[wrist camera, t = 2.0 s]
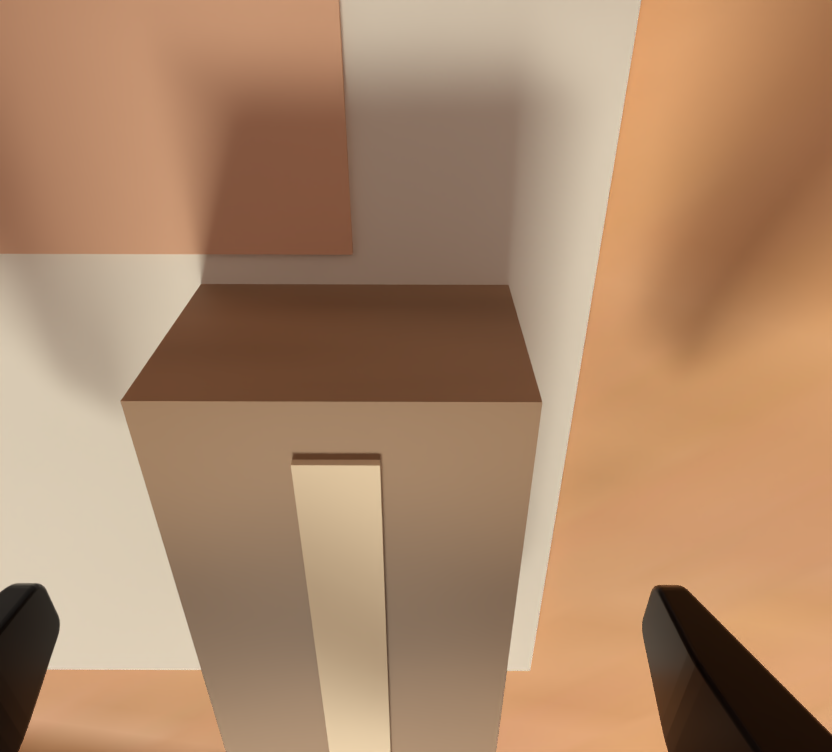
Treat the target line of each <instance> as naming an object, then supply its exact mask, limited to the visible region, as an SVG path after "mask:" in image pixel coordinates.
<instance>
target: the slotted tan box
mask: <svg viewBox="0 0 832 752" xmlns="http://www.w3.org/2000/svg"><path fill="white" fill-rule="evenodd" d="M120 402H121V405H122V408H123V412H124V415H125V418H126V422H127V425H128V428H129V432H130V435H131V438H132V442H133V445H134V448H135V451H136V455H137V458H138V461H139V465H140V468H141V471H142V475H143V478H144V481H145V485H146V488H147V491H148V495H149V498H150V501H151V505H152V508H153V511H154V515H155V518H156V521H157V524H158V528H159V531H160V534H161V538H162V541H163V544H164V548H165V551H166V554H167V558H168V561H169V564H170V568H171V571H172V574H173V578H174V581H175V584H176V588H177V591H178V594H179V598H180V601H181V604H182V607H183V611H184V614H185V617H186V621H187V624H188V627H189V631H190V634H191V637H192V641H193V644H194V647H195V651H196V654H197V657H198V661H199V664H200V667H201V671H202V674H203V677H204V680H205V684H206V687H207V690H208V694H209V697H210V700H211V704H212V707H213V710H214V714H215V717H216V720H217V724H218V727H219V730H220V734H221V737H222V740H223V744H224V747H225V750H226V752H496V749H497V741H498V734H499V726H500V719H501V711H502V704H503V696H504V688H505V681H506V673H507V666H508V658H509V651H510V643H511V636H512V628H513V621H514V613H515V606H516V598H517V590H518V583H519V575H520V568H521V560H522V553H523V545H524V538H525V530H526V523H527V515H528V508H529V500H530V492H531V485H532V477H533V470H534V462H535V455H536V447H537V440H538V432H539V425H540V417H541V410H542V399H541V395H540V392H539V389H538V385H537V382H536V378H535V375H534V371H533V368H532V364H531V361H530V357H529V354H528V351H527V347H526V344H525V340H524V337H523V333H522V330H521V326H520V323H519V319H518V316H517V312H516V309H515V306H514V302H513V299H512V295H511V292H510V288H509V285H384V284H201V285H200V286H199V288H198V289H197V290H196V292H195V293H194V295H193V296H192V298H191V299H190V301H189V302H188V304H187V305H186V306H185V308H184V309H183V311H182V312H181V314H180V315H179V317H178V318H177V320H176V321H175V322H174V324H173V325H172V327H171V328H170V330H169V331H168V333H167V334H166V335H165V337H164V338H163V340H162V341H161V343H160V344H159V346H158V347H157V349H156V350H155V351H154V353H153V354H152V356H151V357H150V359H149V360H148V362H147V363H146V365H145V366H144V367H143V369H142V370H141V372H140V373H139V375H138V376H137V378H136V379H135V381H134V382H133V383H132V385H131V386H130V388H129V389H128V391H127V392H126V394H125V395H124V397H123V398H122V399H121V401H120Z"/></svg>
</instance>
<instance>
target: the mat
mask: <svg viewBox="0 0 832 752" xmlns="http://www.w3.org/2000/svg"><path fill="white" fill-rule="evenodd" d="M640 4H641V0H0V592H1V591H2V590H3V589H5V588H6V587H8V586H10V585H12V584H15V583H39V584H42V585H43V586H44V587H45V588H46V590H47V592H48V594H49V596H50V598H51V601H52V603H53V605H54V607H55V609H56V611H57V613H58V616H59V619H60V630H59V635H58V638H57V641H56V644H55V647H54V650H53V653H52V656H51V659H50V662H49V665H48V668H47V669H73V670H201V667H200V664H199V661H198V657H197V654H196V651H195V647H194V644H193V641H192V637H191V634H190V631H189V627H188V624H187V621H186V617H185V614H184V611H183V607H182V604H181V601H180V598H179V594H178V591H177V588H176V584H175V581H174V578H173V574H172V571H171V568H170V564H169V561H168V558H167V554H166V551H165V548H164V544H163V541H162V538H161V534H160V531H159V528H158V524H157V521H156V518H155V515H154V511H153V508H152V505H151V501H150V498H149V495H148V491H147V488H146V485H145V481H144V478H143V475H142V471H141V468H140V465H139V461H138V458H137V455H136V451H135V448H134V445H133V442H132V438H131V435H130V432H129V428H128V425H127V422H126V418H125V415H124V412H123V408H122V405H121V402H120V401H121V399H122V398H123V397H124V395H125V394H126V392H127V391H128V389H129V388H130V386H131V385H132V383H133V382H134V381H135V379H136V378H137V376H138V375H139V373H140V372H141V370H142V369H143V367H144V366H145V365H146V363H147V362H148V360H149V359H150V357H151V356H152V354H153V353H154V351H155V350H156V349H157V347H158V346H159V344H160V343H161V341H162V340H163V338H164V337H165V335H166V334H167V333H168V331H169V330H170V328H171V327H172V325H173V324H174V322H175V321H176V320H177V318H178V317H179V315H180V314H181V312H182V311H183V309H184V308H185V306H186V305H187V304H188V302H189V301H190V299H191V298H192V296H193V295H194V293H195V292H196V290H197V289H198V288H199V286H200V285H201V284H384V285H509V288H510V292H511V295H512V299H513V302H514V306H515V309H516V312H517V316H518V319H519V323H520V326H521V330H522V333H523V337H524V340H525V344H526V347H527V351H528V354H529V357H530V361H531V364H532V368H533V371H534V375H535V378H536V382H537V385H538V389H539V392H540V395H541V399H542V410H541V417H540V425H539V432H538V440H537V447H536V455H535V462H534V470H533V477H532V485H531V492H530V500H529V508H528V515H527V523H526V530H525V538H524V545H523V553H522V560H521V568H520V575H519V583H518V590H517V598H516V606H515V613H514V621H513V628H512V636H511V643H510V651H509V658H508V666H507V671H530V668H531V662H532V656H533V650H534V644H535V638H536V632H537V626H538V620H539V614H540V608H541V602H542V596H543V590H544V584H545V578H546V572H547V566H548V560H549V554H550V548H551V542H552V535H553V529H554V523H555V517H556V511H557V505H558V499H559V493H560V487H561V481H562V475H563V469H564V463H565V457H566V451H567V445H568V439H569V433H570V427H571V421H572V415H573V409H574V403H575V397H576V391H577V385H578V379H579V373H580V367H581V360H582V354H583V348H584V342H585V336H586V330H587V324H588V318H589V312H590V306H591V300H592V294H593V288H594V282H595V276H596V270H597V264H598V258H599V252H600V246H601V240H602V234H603V228H604V222H605V216H606V210H607V204H608V198H609V191H610V185H611V179H612V173H613V167H614V161H615V155H616V149H617V143H618V137H619V131H620V125H621V119H622V113H623V107H624V101H625V95H626V89H627V83H628V77H629V71H630V65H631V59H632V53H633V47H634V41H635V35H636V29H637V22H638V16H639V10H640Z"/></svg>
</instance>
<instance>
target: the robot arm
mask: <svg viewBox="0 0 832 752" xmlns="http://www.w3.org/2000/svg"><path fill="white" fill-rule="evenodd" d="M59 630H60V619H59V616H58V613H57V611H56V609H55V607H54V605H53V603H52V601H51V598H50V596H49V594H48V592H47V590H46V588H45V587H44V586H43V585H42V584H39V583H15V584H12V585H10V586H8V587H6V588H5V589H3V590H2V591H1V592H0V752H18V751H19V749H20V746H21V744H22V741H23V739H24V736H25V733H26V731H27V728H28V725H29V722H30V720H31V717H32V714H33V710H34V707H35V704H36V701H37V698H38V695H39V692H40V689H41V686H42V683H43V680H44V677H45V674H46V671H47V668H48V665H49V662H50V659H51V656H52V653H53V650H54V647H55V644H56V641H57V638H58V635H59ZM642 632H643V639H644V643H645V648H646V653H647V658H648V663H649V668H650V672H651V677H652V682H653V687H654V692H655V697H656V701H657V706H658V711H659V716H660V721H661V725H662V730H663V734H664V739H665V742H666V746H667V749H668V752H832V734H831V733H830V732H829V731H828V730H827V729H826V728H825V727H824V726H823V725H822V724H821V723H820V722H819V721H818V720H817V719H816V718H815V717H814V716H813V715H812V714H811V713H810V712H809V711H808V710H807V709H806V708H805V707H804V706H803V705H802V704H801V703H800V702H799V701H798V700H797V699H796V698H795V697H794V696H793V695H792V694H791V693H790V692H789V691H788V690H787V689H786V688H785V687H784V686H783V685H782V684H781V683H780V682H779V681H778V680H777V679H776V678H775V677H774V676H773V675H772V674H771V673H770V672H769V671H768V670H767V669H766V668H765V667H764V666H763V665H762V664H761V663H760V662H759V661H758V660H757V659H756V658H755V657H754V656H753V655H752V654H751V653H750V652H749V651H748V650H747V649H746V648H745V647H744V646H743V645H742V644H741V643H740V642H739V641H738V640H737V639H736V638H735V637H734V636H733V635H732V634H731V633H730V632H729V631H728V630H727V629H726V628H725V627H724V626H723V625H722V624H721V623H720V622H719V621H718V620H717V619H716V618H715V617H714V616H713V615H712V614H711V613H710V612H709V611H708V610H707V609H706V608H705V607H704V606H703V605H702V604H701V603H700V602H699V601H698V600H697V599H696V598H695V597H694V596H693V595H692V594H691V593H690V592H689V591H688V590H687V589H686V588H684V587H682V586H679V585H657V586H655V587H654V588H653V589H652V591H651V594H650V597H649V601H648V604H647V607H646V611H645V614H644V617H643V622H642Z"/></svg>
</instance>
